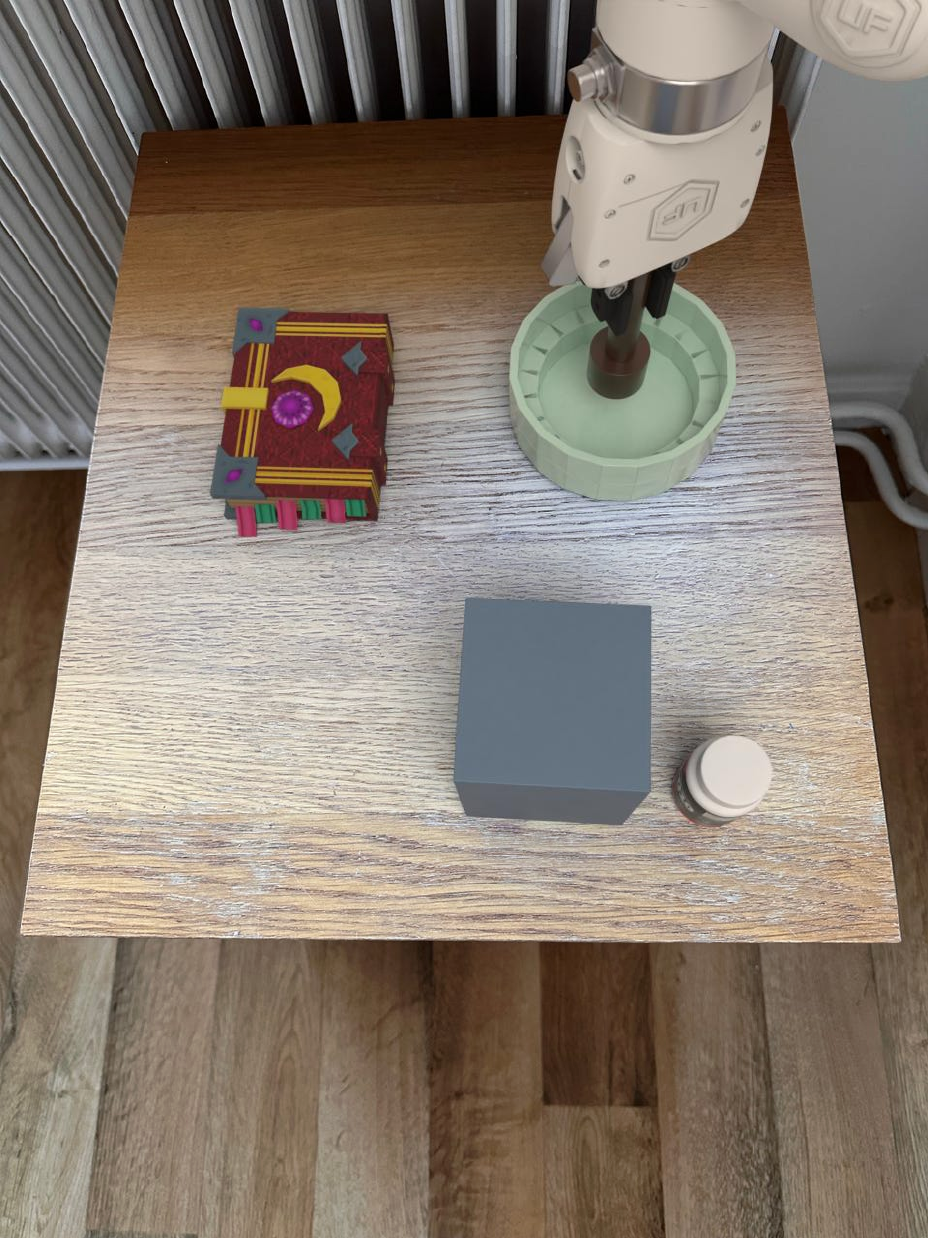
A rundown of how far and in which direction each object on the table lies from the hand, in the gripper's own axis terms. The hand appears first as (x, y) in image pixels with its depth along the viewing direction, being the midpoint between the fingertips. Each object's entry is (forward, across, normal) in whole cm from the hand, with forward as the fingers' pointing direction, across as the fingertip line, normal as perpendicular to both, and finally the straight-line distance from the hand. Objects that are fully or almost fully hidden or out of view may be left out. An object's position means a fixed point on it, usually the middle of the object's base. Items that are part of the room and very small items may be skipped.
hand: (628, 307), depth 60 cm
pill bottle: (+12, -8, -28) cm, 31 cm away
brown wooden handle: (+8, 0, 0) cm, 8 cm away
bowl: (+12, 0, 0) cm, 12 cm away
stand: (+12, -15, -20) cm, 28 cm away
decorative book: (+13, -20, +8) cm, 25 cm away
